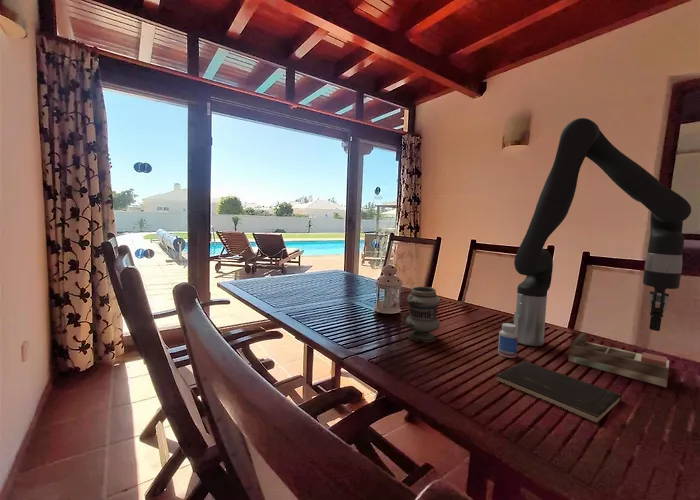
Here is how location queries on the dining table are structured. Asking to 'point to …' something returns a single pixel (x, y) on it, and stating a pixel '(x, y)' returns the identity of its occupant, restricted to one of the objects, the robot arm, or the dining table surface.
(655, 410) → the dining table surface
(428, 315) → the apothecary jar
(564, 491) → the dining table surface
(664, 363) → the brown block
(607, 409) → the hardcover book
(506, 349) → the pill bottle
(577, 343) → the trap tray
